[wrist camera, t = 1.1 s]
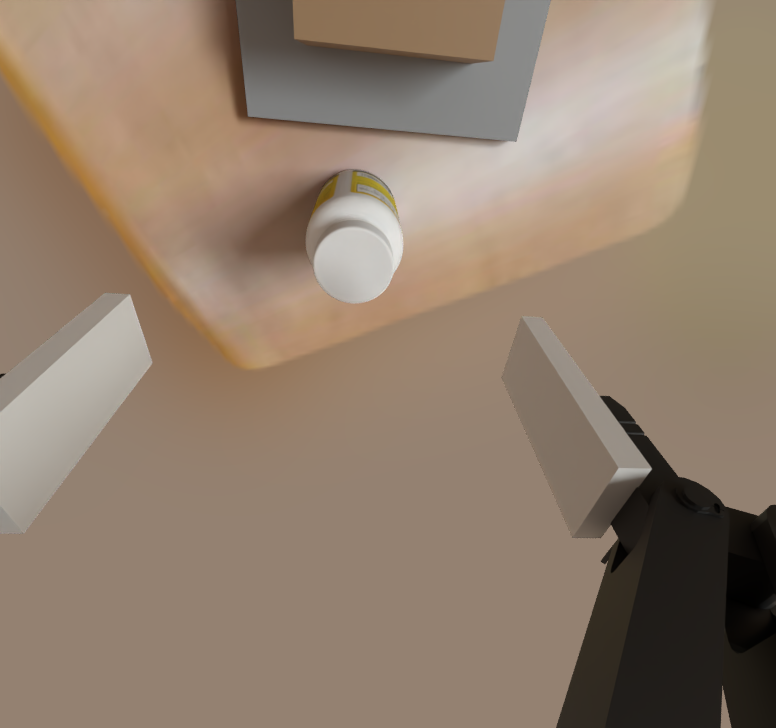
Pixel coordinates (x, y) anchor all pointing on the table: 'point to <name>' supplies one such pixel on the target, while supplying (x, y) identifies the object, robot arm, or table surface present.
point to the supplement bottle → (354, 237)
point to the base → (392, 63)
